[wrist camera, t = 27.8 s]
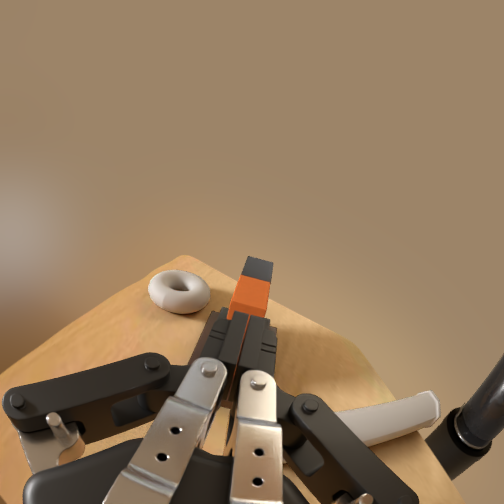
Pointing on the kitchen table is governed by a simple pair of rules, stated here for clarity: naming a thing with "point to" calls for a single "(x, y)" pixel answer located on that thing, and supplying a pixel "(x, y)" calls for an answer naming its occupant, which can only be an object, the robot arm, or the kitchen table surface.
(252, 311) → the orange rectangular block
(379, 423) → the tube
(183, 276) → the donut
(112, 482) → the robot arm
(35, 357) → the kitchen table surface
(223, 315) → the dark brown slotted holder
